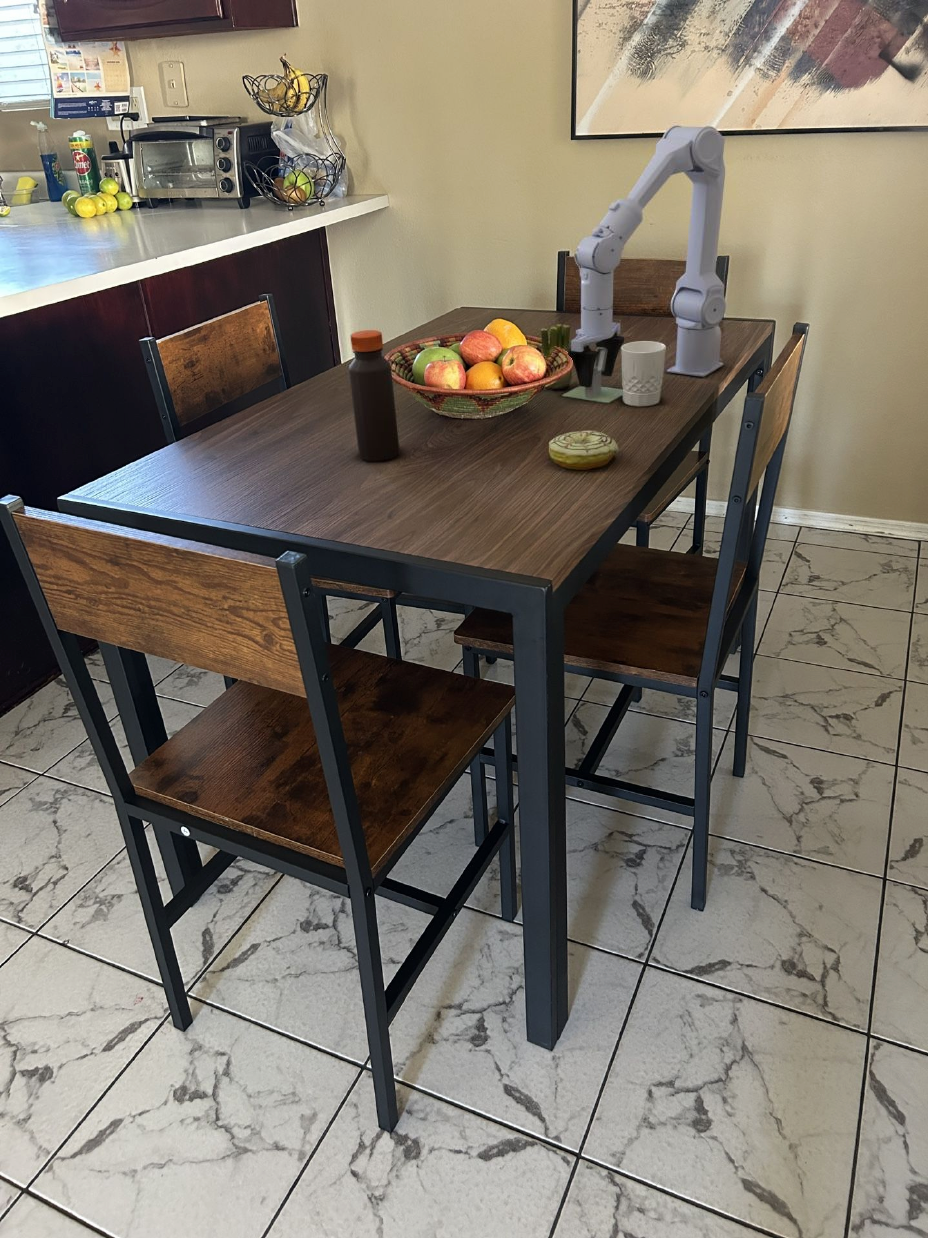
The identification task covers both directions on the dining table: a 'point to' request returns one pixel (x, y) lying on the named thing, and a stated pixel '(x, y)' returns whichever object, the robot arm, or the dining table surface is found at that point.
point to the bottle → (373, 398)
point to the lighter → (597, 374)
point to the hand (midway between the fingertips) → (595, 380)
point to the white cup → (642, 372)
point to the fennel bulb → (558, 339)
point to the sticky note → (605, 395)
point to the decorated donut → (582, 449)
